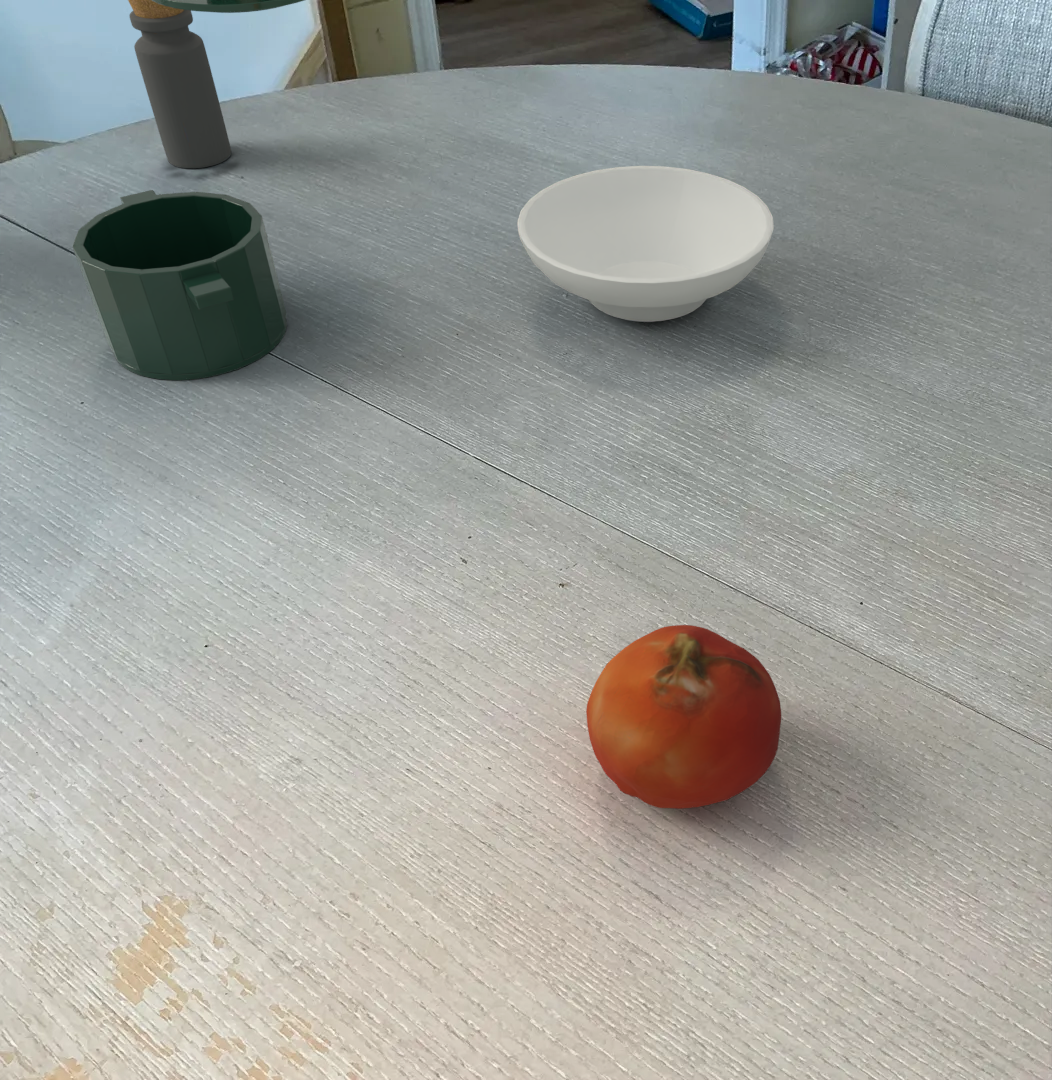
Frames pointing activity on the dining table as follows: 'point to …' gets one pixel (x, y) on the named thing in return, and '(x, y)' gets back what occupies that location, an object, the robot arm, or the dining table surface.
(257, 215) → the pot
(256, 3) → the lid
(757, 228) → the bowl
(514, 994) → the dining table surface
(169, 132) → the bottle
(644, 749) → the tomato
